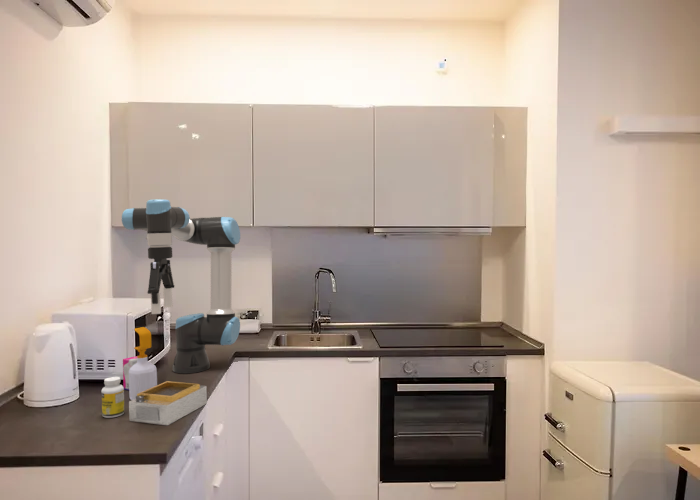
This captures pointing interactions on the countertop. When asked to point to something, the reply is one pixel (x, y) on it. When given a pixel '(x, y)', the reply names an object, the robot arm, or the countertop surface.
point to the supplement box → (127, 370)
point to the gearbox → (167, 402)
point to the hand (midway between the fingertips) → (162, 310)
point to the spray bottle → (142, 367)
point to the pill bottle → (112, 398)
